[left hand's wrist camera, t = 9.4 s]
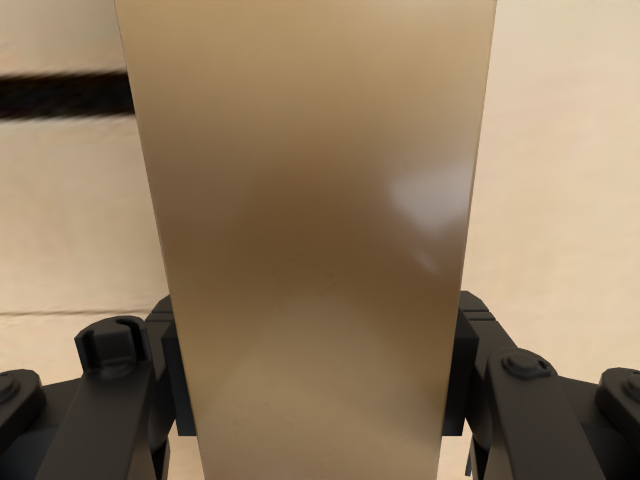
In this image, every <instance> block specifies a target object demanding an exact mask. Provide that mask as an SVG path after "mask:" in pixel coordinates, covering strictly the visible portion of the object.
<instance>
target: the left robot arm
mask: <svg viewBox="0 0 640 480" xmlns="http://www.w3.org/2000/svg"><path fill="white" fill-rule="evenodd" d="M74 340H75V343H76V347H77V350H78V354H79V358H80V361H81V365H82V368H83V375H82V377H81V378H77V379H74V380H69V381H64V382H60V383H55V384H50V385H45V386H42V383H41V380H40V377H39V375H38V374H37V373H35V372H34V371H33V370H26V369H19V370H11V371H6V372H2V373H0V480H167V476H168V468H169V459H170V445H169V439H168V434H169V431H170V429H171V427H172V425H173V422H174V420H175V419H176V425H177V430H178V436H197V434H196V429H195V424H194V418H193V413H192V408H191V403H190V397H189V392H188V387H187V382H186V376H185V371H184V366H183V361H182V355H181V350H180V345H179V339H178V334H177V329H176V324H175V318H174V313H173V308H172V303H171V297H170V295H168V296H166V297H165V298H163V299H162V300H160V301H159V302H158V304H157V305H156V306H155V308H154V309H153V310H152V313H150V314H149V315H148V317H147V318H146V319H145V321H143V320H142V319H141V318H139V317H135V316H115V317H111V318H106V319H103V320H100V321H98V322H95V323H93V324H91V325H89V326H88V327H86V328H85V329H83V330H81V331H80V332H79V334H78V335H77V336H76V337H75V338H74ZM465 417H466V420H467V422H468V424H469V426H470V429H471V431H472V433H473V434H472V439H471V444H470V450H469V455H468V460H467V465H466V471H465V476H470V475H471V470H472V475H473V480H640V371H638V370H634V369H627V368H620V367H618V368H611V369H607V370H606V371H605V372H604V373H602V376H601V379H600V382H599V385H598V384H593V383H589V382H584V381H579V380H574V379H570V378H565V377H562V376H558V374H557V372H556V370H555V369H554V368H553V366H552V365H551V364H550V363H549V362H548V361H546V360H545V359H544V358H542V357H541V356H539V355H537V354H535V353H533V352H531V351H528V350H525V349H521V348H518V347H517V346H516V345H515V343H514V342H513V341H512V339H511V338H510V337H509V335H508V334H507V333H506V332H505V330H504V329H503V328H502V326H501V325H500V324H499V322H498V321H496V319H495V317H494V316H493V315H492V313H491V312H489V309H488V308H487V307H486V306H485V304H484V303H483V302H482V300H481V299H479V298H478V297H476V296H474V295H473V294H471V293H470V292H468V291H460V297H459V305H458V313H457V321H456V329H455V337H454V345H453V353H452V360H451V368H450V376H449V384H448V392H447V400H446V408H445V416H444V424H443V432H442V436H462V432H463V427H464V421H465Z"/></svg>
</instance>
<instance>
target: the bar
mask: <svg viewBox="0 0 640 480" xmlns="http://www.w3.org/2000/svg"><path fill="white" fill-rule="evenodd" d="M114 3H115V8H116V13H117V18H118V24H119V29H120V34H121V40H122V45H123V50H124V55H125V61H126V66H127V71H128V76H129V82H130V87H131V92H132V97H133V103H134V108H135V113H136V118H137V124H138V129H139V134H140V140H141V145H142V150H143V155H144V161H145V166H146V171H147V176H148V182H149V187H150V192H151V197H152V203H153V208H154V213H155V218H156V224H157V229H158V234H159V239H160V245H161V250H162V255H163V261H164V266H165V271H166V276H167V282H168V287H169V292H170V297H171V303H172V308H173V313H174V318H175V324H176V329H177V334H178V339H179V345H180V350H181V355H182V361H183V366H184V371H185V376H186V382H187V387H188V392H189V397H190V403H191V408H192V413H193V418H194V424H195V429H196V434H197V439H198V445H199V450H200V455H201V460H202V466H203V471H204V476H205V480H436V479H437V471H438V463H439V455H440V447H441V440H442V432H443V424H444V416H445V408H446V400H447V392H448V384H449V376H450V368H451V360H452V353H453V345H454V337H455V329H456V321H457V313H458V305H459V297H460V289H461V281H462V273H463V265H464V258H465V250H466V242H467V234H468V226H469V218H470V210H471V202H472V194H473V186H474V178H475V171H476V163H477V155H478V147H479V139H480V131H481V123H482V115H483V107H484V99H485V91H486V84H487V76H488V68H489V60H490V52H491V44H492V36H493V28H494V20H495V12H496V4H497V0H114Z"/></svg>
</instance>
